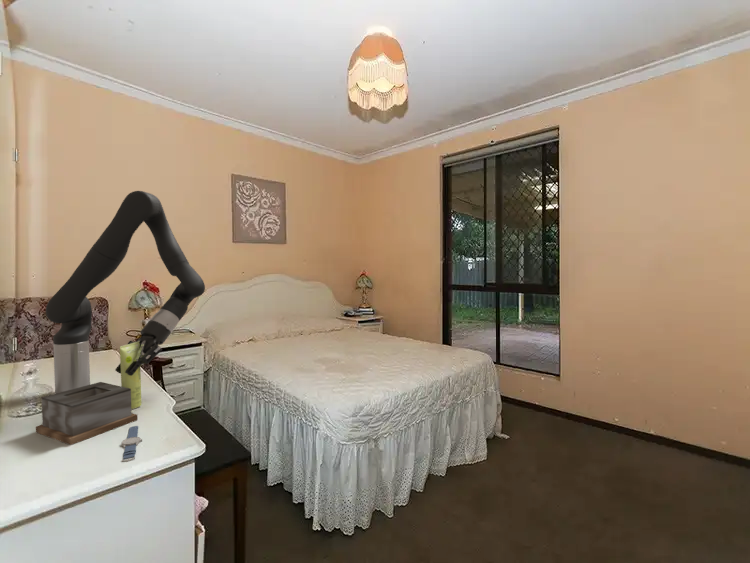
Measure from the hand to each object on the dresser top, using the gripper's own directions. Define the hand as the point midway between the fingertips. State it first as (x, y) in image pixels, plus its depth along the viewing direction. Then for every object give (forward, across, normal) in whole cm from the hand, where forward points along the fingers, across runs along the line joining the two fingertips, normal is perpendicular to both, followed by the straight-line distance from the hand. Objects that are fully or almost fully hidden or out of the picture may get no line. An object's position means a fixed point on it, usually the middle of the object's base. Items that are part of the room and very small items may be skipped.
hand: (123, 372), depth 110 cm
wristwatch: (+17, +23, 0) cm, 28 cm away
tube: (+7, 0, +9) cm, 11 cm away
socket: (+16, +3, 0) cm, 16 cm away
